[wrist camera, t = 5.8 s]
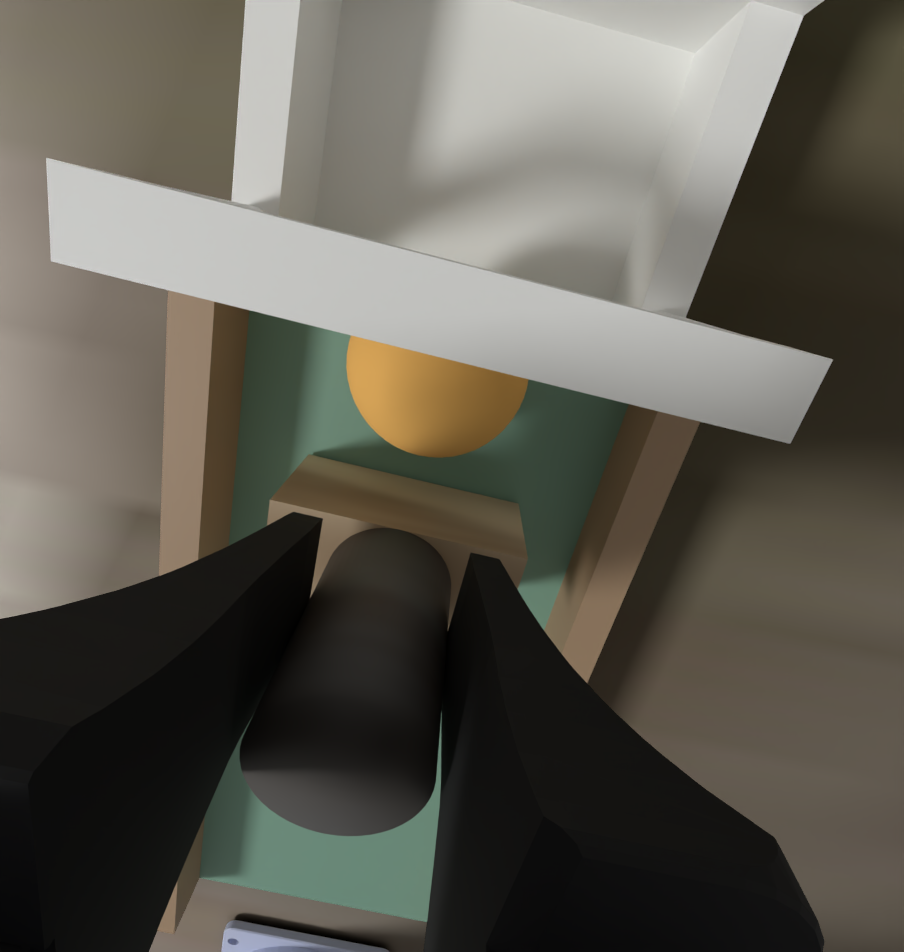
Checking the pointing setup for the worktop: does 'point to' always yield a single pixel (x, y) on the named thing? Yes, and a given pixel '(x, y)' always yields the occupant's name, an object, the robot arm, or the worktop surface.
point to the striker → (369, 646)
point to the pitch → (451, 305)
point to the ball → (430, 399)
